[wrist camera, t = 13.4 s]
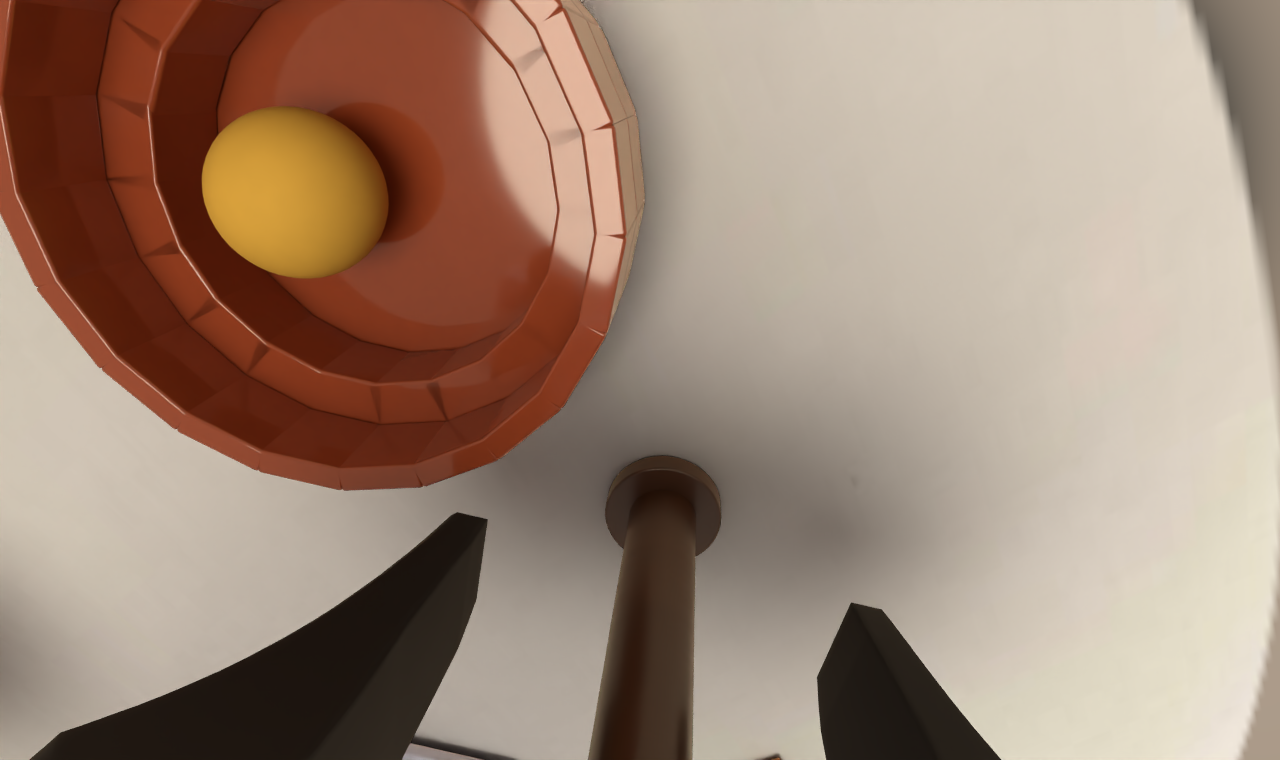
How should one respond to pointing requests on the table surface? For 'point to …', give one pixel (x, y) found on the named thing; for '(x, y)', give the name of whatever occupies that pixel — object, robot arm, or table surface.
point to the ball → (295, 192)
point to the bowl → (382, 281)
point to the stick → (653, 609)
